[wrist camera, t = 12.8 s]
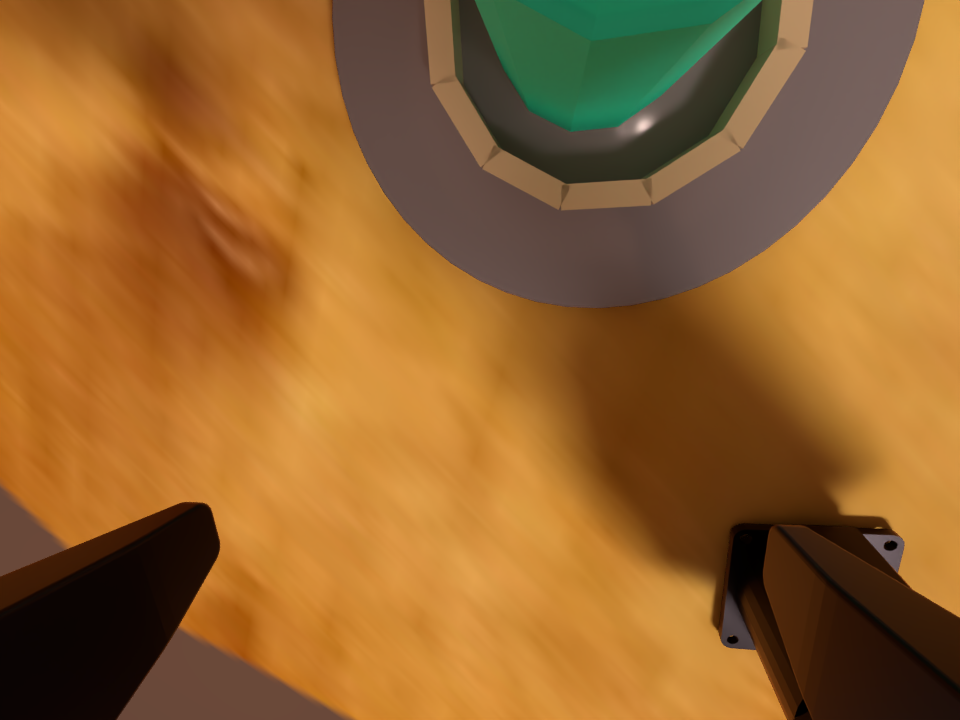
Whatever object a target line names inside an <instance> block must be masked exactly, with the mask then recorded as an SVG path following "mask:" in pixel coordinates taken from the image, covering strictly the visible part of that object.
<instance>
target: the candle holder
mask: <svg viewBox="0 0 960 720" xmlns="http://www.w3.org/2000/svg"><path fill="white" fill-rule="evenodd" d="M923 4H924V0H762V1H761V2H760V3H759V4H758V5H757V6H756V7H755V8H753V9H752V10H751V11H750V12H749V13H748V14H747V15H746V16H745V17H744V18H743V19H742V20H741V21H740V22H739V23H738V24H737V25H735V26H734V27H733V28H732V29H731V30H730V31H729V32H728V33H727V34H726V35H725V36H724V37H723V38H722V39H721V40H720V41H718V42H717V43H716V44H715V45H714V46H713V47H712V48H711V49H710V50H709V51H708V52H707V53H706V54H705V55H704V56H703V57H702V58H700V59H699V60H698V61H697V62H696V63H695V64H694V65H693V66H692V67H691V68H690V69H689V70H688V71H687V72H686V73H685V74H684V75H682V76H681V77H680V78H679V79H678V80H677V81H676V82H675V83H674V84H673V85H672V86H671V87H670V88H669V89H668V90H667V91H665V92H664V93H663V94H662V95H661V96H660V97H659V98H657V99H656V100H654V101H653V102H652V103H650V104H649V105H647V106H646V107H645V108H643V109H642V110H640V111H639V112H638V113H636V114H635V115H634V116H632V117H631V118H629V119H628V120H627V121H625V122H624V123H622V124H621V125H620V126H618V127H611V128H602V129H592V130H583V131H574V132H569V131H568V130H566V129H564V128H562V127H560V126H558V125H556V124H554V123H552V122H550V121H548V120H546V119H544V118H542V117H540V116H538V115H536V114H534V113H532V112H530V111H529V110H528V109H527V107H526V105H525V104H524V102H523V100H522V99H521V97H520V96H519V94H518V92H517V91H516V89H515V87H514V86H513V84H512V82H511V81H510V79H509V77H508V76H507V74H506V73H505V71H504V69H503V67H502V65H501V62H500V60H499V57H498V55H497V53H496V50H495V48H494V45H493V43H492V41H491V38H490V36H489V33H488V31H487V29H486V26H485V24H484V21H483V19H482V17H481V14H480V12H479V9H478V7H477V5H476V2H475V0H333V15H332V19H333V32H334V45H335V58H336V63H337V69H338V74H339V79H340V85H341V90H342V96H343V99H344V102H345V105H346V109H347V112H348V115H349V119H350V122H351V125H352V129H353V132H354V134H355V136H356V139H357V141H358V143H359V146H360V148H361V150H362V153H363V155H364V157H365V159H366V162H367V164H368V166H369V167H370V169H371V171H372V173H373V174H374V176H375V178H376V180H377V181H378V183H379V185H380V187H381V188H382V190H383V192H384V193H385V195H386V196H387V197H388V199H389V200H390V201H391V203H392V204H393V205H394V207H395V208H396V209H397V211H398V212H399V213H400V215H401V216H402V218H403V219H404V220H405V221H406V222H407V223H408V224H409V225H410V226H411V227H412V228H413V230H414V231H415V232H416V233H417V234H418V235H419V236H420V237H421V238H422V239H423V240H424V241H425V242H426V243H427V244H428V245H429V246H431V247H432V248H433V249H434V250H436V251H437V252H438V253H439V254H441V255H442V256H443V257H444V258H445V259H447V260H448V261H449V262H450V263H452V264H453V265H455V266H457V267H458V268H460V269H461V270H463V271H465V272H466V273H468V274H470V275H471V276H473V277H474V278H476V279H478V280H480V281H482V282H484V283H486V284H489V285H491V286H493V287H495V288H497V289H500V290H502V291H504V292H506V293H510V294H513V295H516V296H519V297H523V298H526V299H529V300H533V301H536V302H542V303H548V304H554V305H560V306H566V307H586V308H606V307H617V306H628V305H635V304H640V303H645V302H650V301H654V300H659V299H664V298H667V297H670V296H673V295H676V294H679V293H682V292H685V291H688V290H691V289H694V288H697V287H699V286H701V285H704V284H706V283H708V282H710V281H712V280H714V279H716V278H718V277H720V276H722V275H724V274H727V273H729V272H731V271H733V270H734V269H736V268H737V267H739V266H741V265H742V264H744V263H745V262H747V261H749V260H750V259H752V258H753V257H755V256H757V255H758V254H760V253H761V252H763V251H765V250H766V249H767V248H768V247H770V246H771V245H772V244H773V243H775V242H776V241H777V240H778V239H780V238H781V237H782V236H784V235H785V234H786V233H787V232H789V231H790V230H791V229H792V228H794V227H795V226H796V225H797V224H798V223H799V222H800V221H801V220H802V219H803V218H804V217H805V216H806V215H807V214H808V213H809V212H810V211H811V210H812V209H813V208H814V207H815V206H816V205H817V204H818V203H819V202H820V201H821V200H822V199H823V198H824V197H825V196H826V195H827V194H828V193H829V191H830V190H831V189H832V188H833V187H834V185H835V184H836V183H837V182H838V180H839V179H840V178H841V177H842V176H843V174H844V173H845V172H846V171H847V169H848V168H849V167H850V166H851V165H852V163H853V162H854V160H855V159H856V157H857V156H858V154H859V153H860V151H861V149H862V148H863V146H864V145H865V143H866V142H867V140H868V139H869V137H870V136H871V134H872V133H873V131H874V129H875V128H876V126H877V125H878V123H879V121H880V119H881V117H882V115H883V113H884V111H885V109H886V107H887V105H888V103H889V101H890V99H891V97H892V95H893V93H894V91H895V89H896V87H897V85H898V83H899V80H900V77H901V75H902V72H903V69H904V67H905V64H906V61H907V59H908V56H909V53H910V51H911V48H912V45H913V43H914V40H915V36H916V32H917V28H918V24H919V20H920V16H921V12H922V8H923Z"/></svg>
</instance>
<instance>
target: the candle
mask: <svg viewBox="0 0 960 720" xmlns="http://www.w3.org/2000/svg"><path fill="white" fill-rule="evenodd" d="M761 1H762V0H475V2H476V5H477V7H478V9H479V12H480V14H481V17H482V19H483V21H484V24H485V26H486V29H487V31H488V33H489V36H490V38H491V41H492V43H493V45H494V48H495V50H496V53H497V55H498V57H499V60H500V62H501V65H502V67H503V69H504V71H505V73H506V74H507V76H508V77H509V79H510V81H511V82H512V84H513V86H514V87H515V89H516V91H517V92H518V94H519V96H520V97H521V99H522V100H523V102H524V104H525V105H526V107H527V109H528V110H529V111H530V112H532V113H534V114H536V115H538V116H540V117H542V118H544V119H546V120H548V121H550V122H552V123H554V124H556V125H558V126H560V127H562V128H564V129H566V130H568V131H569V132H574V131H583V130H592V129H602V128H611V127H618V126H620V125H621V124H622V123H624V122H625V121H627V120H628V119H629V118H631V117H632V116H634V115H635V114H636V113H638V112H639V111H640V110H642V109H643V108H645V107H646V106H647V105H649V104H650V103H652V102H653V101H654V100H656V99H657V98H659V97H660V96H661V95H662V94H663V93H664V92H665V91H667V90H668V89H669V88H670V87H671V86H672V85H673V84H674V83H675V82H676V81H677V80H678V79H679V78H680V77H681V76H682V75H684V74H685V73H686V72H687V71H688V70H689V69H690V68H691V67H692V66H693V65H694V64H695V63H696V62H697V61H698V60H699V59H700V58H702V57H703V56H704V55H705V54H706V53H707V52H708V51H709V50H710V49H711V48H712V47H713V46H714V45H715V44H716V43H717V42H718V41H720V40H721V39H722V38H723V37H724V36H725V35H726V34H727V33H728V32H729V31H730V30H731V29H732V28H733V27H734V26H735V25H737V24H738V23H739V22H740V21H741V20H742V19H743V18H744V17H745V16H746V15H747V14H748V13H749V12H750V11H751V10H752V9H753V8H755V7H756V6H757V5H758V4H759V3H760V2H761Z"/></svg>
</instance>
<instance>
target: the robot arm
mask: <svg viewBox="0 0 960 720" xmlns="http://www.w3.org/2000/svg"><path fill="white" fill-rule="evenodd" d="M745 534H747V535H748V536H747V537H746V538H740V537H741V536H742V535H745ZM887 541H890V542H889V543H888V544H885V543H886V542H887ZM903 550H904V541H903V539H902V538H901V537H900V536H899V535H898V534H897V533H896V532H894V531H893V530H889V529H871V528H855V527H842V526H816V525H778V524H777V525H768V524H738V525H736V526H734V527H733V528H732V529H731V532H730V538H729V546H728V555H727V563H726V572H725V580H724V589H723V597H722V606H721V614H720V623H719V631H718V632H719V636H720V639H721V642H722V643H723V645H725V646H726V647H729V648H737V649H750V650H757V653H758V655H759V657H760V659H761V662H762V664H763V666H764V669H765V671H766V673H767V675H768V678H769V680H770V682H771V684H772V687H773V689H774V691H775V694H776V696H777V698H778V700H779V703H780V705H781V707H782V709H783V712H784V714H785V716H786V719H787V720H960V618H959V617H958V616H956V615H954V614H953V613H951V612H949V611H948V610H946V609H944V608H942V607H941V606H939V605H937V604H936V603H934V602H932V601H931V600H929V599H927V598H926V597H924V596H922V595H920V594H919V593H917V592H915V591H914V590H912V588H911V587H910V586H909V585H908V584H907V583H906V582H905V581H904V580H903V578H902V577H901V576H900V575H899V574H898V570H899V566H900V562H901V558H902V554H903ZM219 551H220V540H219V536H218V532H217V529H216V525H215V521H214V517H213V513H212V510H211V508H210V507H209V506H208V505H207V504H205V503H198V502H183V503H179V504H177V505H174V506H172V507H169V508H167V509H165V510H162V511H160V512H157V513H155V514H152V515H150V516H147V517H145V518H143V519H140V520H138V521H135V522H133V523H130V524H128V525H125V526H123V527H121V528H118V529H116V530H113V531H111V532H108V533H106V534H103V535H101V536H98V537H96V538H94V539H91V540H89V541H86V542H84V543H81V544H79V545H76V546H74V547H72V548H69V549H67V550H64V551H62V552H59V553H57V554H54V555H52V556H50V557H47V558H45V559H42V560H40V561H37V562H35V563H32V564H30V565H28V566H25V567H23V568H20V569H18V570H15V571H13V572H11V573H8V574H6V575H3V576H1V577H0V720H117V719H118V717H119V716H120V714H121V713H122V711H123V710H124V708H125V707H126V705H127V704H128V703H129V701H130V700H131V698H132V697H133V695H134V694H135V692H136V691H137V689H138V688H139V686H140V685H141V683H142V682H143V681H144V679H145V678H146V676H147V675H148V673H149V672H150V670H151V669H152V667H153V666H154V664H155V663H156V661H157V660H158V658H159V657H160V655H161V654H162V652H163V651H164V649H165V648H166V646H167V645H168V643H169V641H170V640H171V638H172V636H173V635H174V633H175V631H176V630H177V628H178V626H179V624H180V623H181V621H182V619H183V617H184V616H185V614H186V612H187V610H188V609H189V607H190V605H191V603H192V602H193V600H194V598H195V596H196V594H197V593H198V591H199V589H200V587H201V586H202V584H203V582H204V580H205V579H206V577H207V575H208V573H209V572H210V570H211V568H212V566H213V564H214V563H215V561H216V559H217V557H218V554H219ZM732 635H734V636H732ZM729 636H732V637H729Z"/></svg>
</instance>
